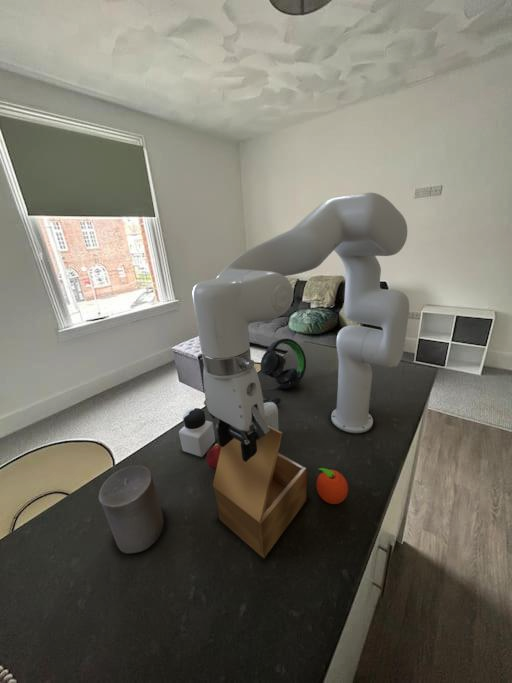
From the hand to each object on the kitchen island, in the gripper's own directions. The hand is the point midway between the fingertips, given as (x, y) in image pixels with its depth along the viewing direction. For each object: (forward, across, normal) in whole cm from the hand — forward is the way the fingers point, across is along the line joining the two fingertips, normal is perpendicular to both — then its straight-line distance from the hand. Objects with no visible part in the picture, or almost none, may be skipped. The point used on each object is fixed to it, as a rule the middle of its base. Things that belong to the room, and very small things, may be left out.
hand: (237, 448), depth 50 cm
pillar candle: (+22, +18, +15) cm, 32 cm away
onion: (+22, +17, -7) cm, 29 cm away
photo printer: (+22, +14, -22) cm, 35 cm away
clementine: (+22, -10, -18) cm, 30 cm away
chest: (+22, 0, -6) cm, 23 cm away
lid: (+4, 0, -2) cm, 5 cm away
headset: (+22, +25, -49) cm, 60 cm away
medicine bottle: (+22, +28, -9) cm, 37 cm away
